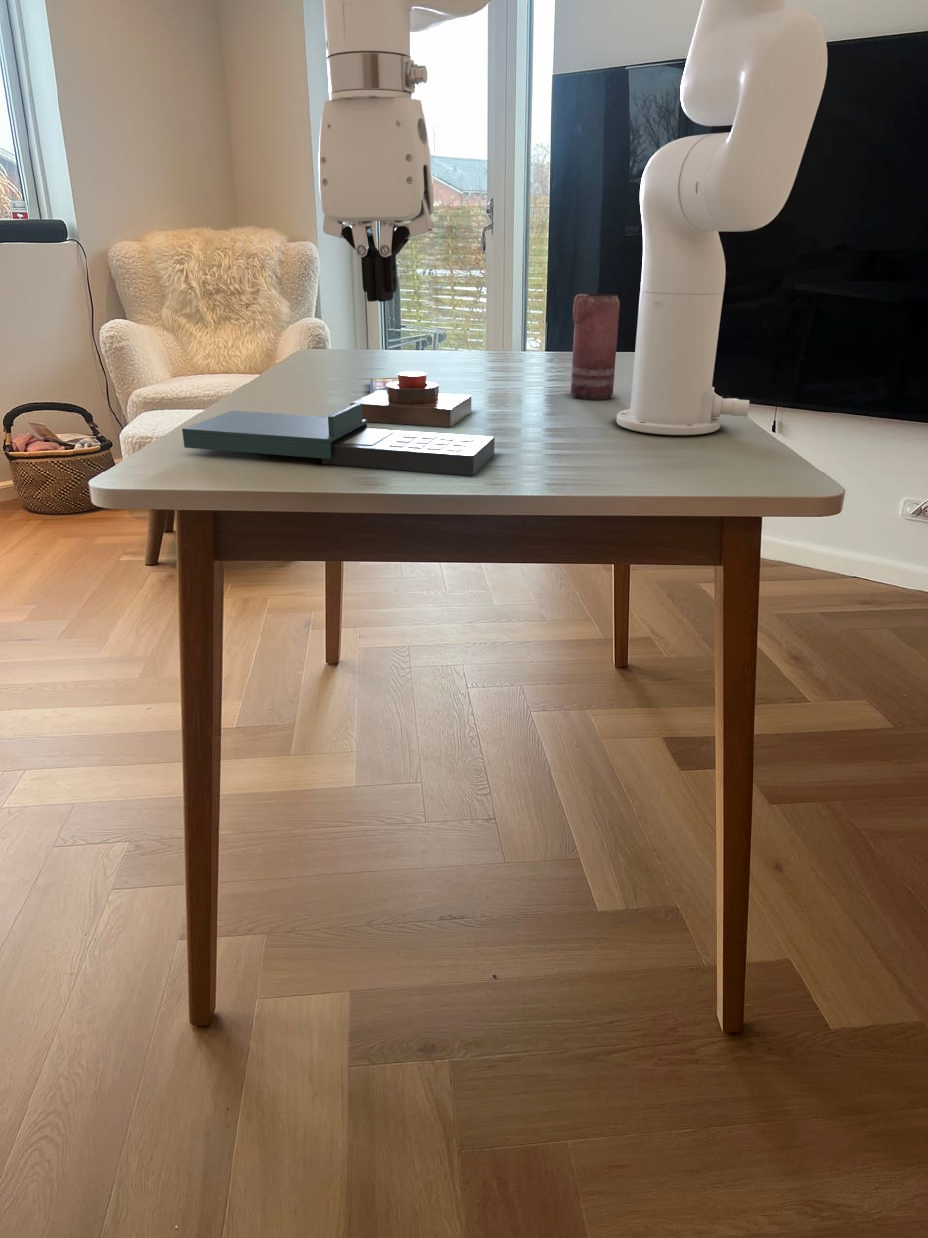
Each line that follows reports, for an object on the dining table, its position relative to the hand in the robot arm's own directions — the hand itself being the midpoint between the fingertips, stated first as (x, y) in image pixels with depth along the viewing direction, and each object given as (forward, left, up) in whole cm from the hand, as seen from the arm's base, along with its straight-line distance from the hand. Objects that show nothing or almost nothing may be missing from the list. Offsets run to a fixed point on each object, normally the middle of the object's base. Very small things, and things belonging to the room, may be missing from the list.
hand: (380, 299), depth 86 cm
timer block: (+4, -22, -16) cm, 27 cm away
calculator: (-3, 0, -16) cm, 16 cm away
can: (-16, -44, -16) cm, 49 cm away
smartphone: (+12, -38, -16) cm, 43 cm away
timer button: (+4, -22, -12) cm, 25 cm away
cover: (+12, 0, -16) cm, 20 cm away
